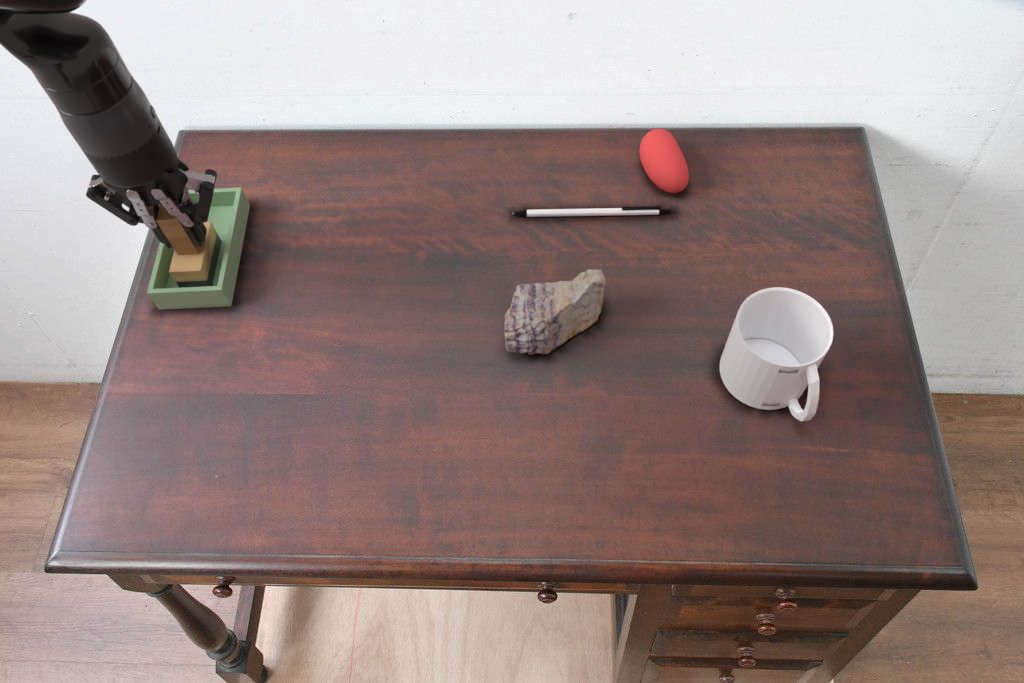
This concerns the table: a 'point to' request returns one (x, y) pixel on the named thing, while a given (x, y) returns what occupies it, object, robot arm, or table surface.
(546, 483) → the table surface
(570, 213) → the pen
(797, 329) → the mug
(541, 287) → the mineral specimen
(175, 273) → the scrub brush
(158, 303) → the tray
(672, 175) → the stress ball
